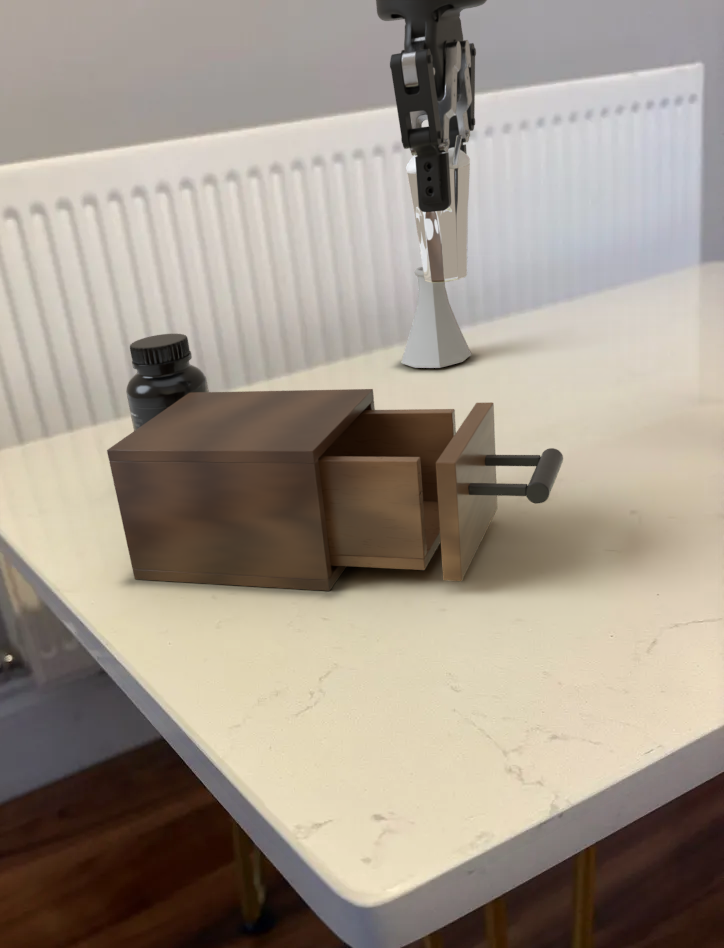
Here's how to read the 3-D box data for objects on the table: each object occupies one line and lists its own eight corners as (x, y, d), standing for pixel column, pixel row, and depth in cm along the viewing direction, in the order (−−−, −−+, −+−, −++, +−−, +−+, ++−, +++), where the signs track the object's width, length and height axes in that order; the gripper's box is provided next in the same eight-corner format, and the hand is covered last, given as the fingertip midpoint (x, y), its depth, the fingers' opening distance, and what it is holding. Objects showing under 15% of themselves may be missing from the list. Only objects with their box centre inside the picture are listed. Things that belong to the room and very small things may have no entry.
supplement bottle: (139, 473, 92) (112, 340, 87) (213, 457, 93) (191, 325, 88) (150, 497, 86) (122, 356, 81) (229, 480, 87) (206, 340, 82)
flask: (389, 366, 113) (381, 273, 109) (431, 349, 117) (426, 259, 113) (441, 373, 108) (435, 276, 104) (483, 355, 112) (479, 261, 108)
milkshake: (441, 289, 75) (430, 141, 70) (405, 280, 79) (392, 140, 74) (494, 275, 76) (487, 129, 71) (455, 268, 80) (446, 129, 76)
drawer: (569, 510, 71) (568, 401, 67) (543, 586, 61) (541, 463, 58) (318, 504, 78) (306, 404, 74) (261, 571, 69) (244, 460, 65)
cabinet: (384, 514, 77) (373, 388, 72) (329, 591, 67) (312, 451, 62) (209, 508, 82) (189, 392, 78) (134, 579, 72) (106, 450, 68)
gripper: (457, -88, 60) (473, 216, 68) (507, -74, 72) (515, 185, 79) (338, -63, 63) (365, 226, 71) (403, -53, 75) (421, 195, 82)
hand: (444, 203), depth 75 cm, fingers closed on milkshake, 4 cm apart
